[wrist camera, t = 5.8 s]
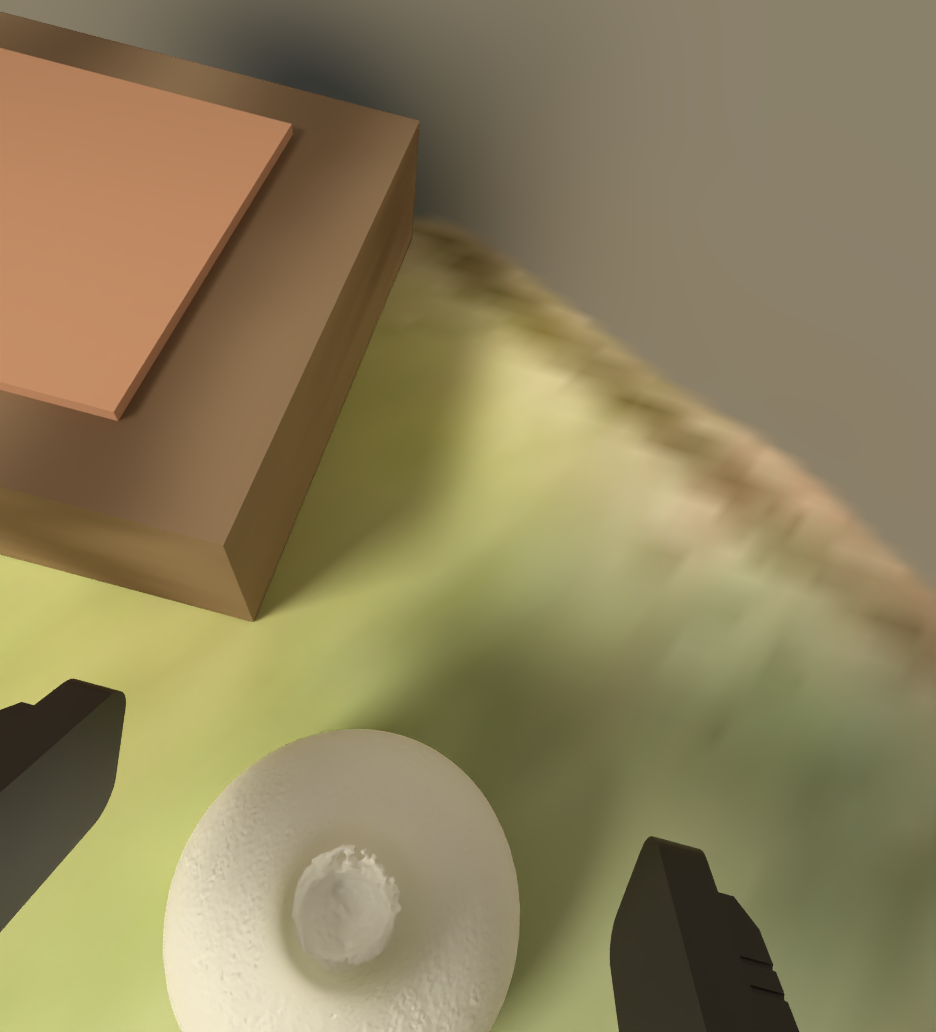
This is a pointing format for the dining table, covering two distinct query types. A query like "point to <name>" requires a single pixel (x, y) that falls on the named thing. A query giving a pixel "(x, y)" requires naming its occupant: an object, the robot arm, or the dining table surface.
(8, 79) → the mat
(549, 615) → the dining table surface
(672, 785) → the dining table surface
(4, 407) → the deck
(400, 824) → the garlic bulb
